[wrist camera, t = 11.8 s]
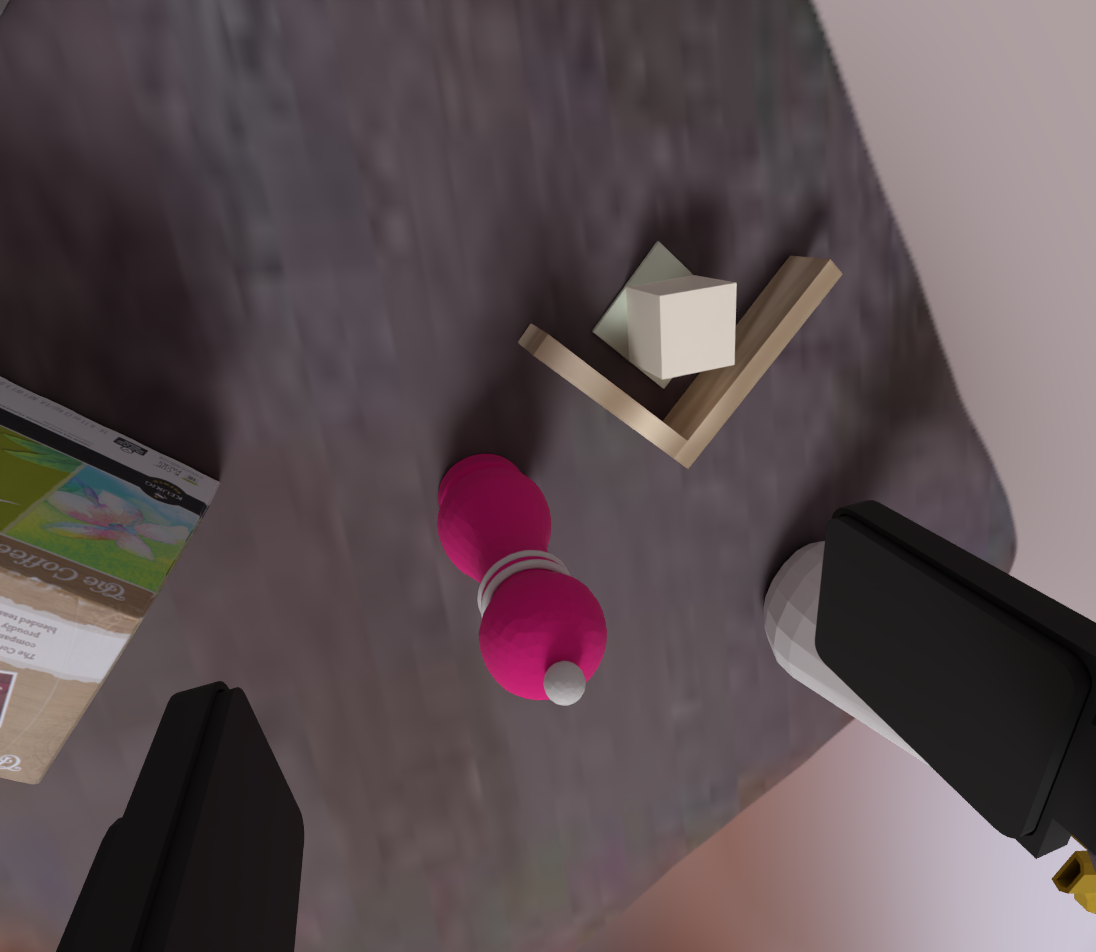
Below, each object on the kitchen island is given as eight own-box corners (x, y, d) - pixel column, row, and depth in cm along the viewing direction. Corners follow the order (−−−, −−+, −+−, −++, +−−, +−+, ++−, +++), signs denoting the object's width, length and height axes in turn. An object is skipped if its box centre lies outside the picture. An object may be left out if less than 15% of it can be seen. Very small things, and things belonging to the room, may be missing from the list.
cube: (625, 286, 38) (659, 296, 34) (694, 275, 39) (736, 282, 35) (629, 362, 40) (662, 380, 36) (694, 349, 41) (734, 365, 37)
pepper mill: (432, 445, 39) (490, 633, 21) (536, 446, 41) (666, 617, 24) (428, 540, 42) (477, 776, 24) (526, 536, 44) (636, 750, 26)
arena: (517, 342, 38) (533, 355, 34) (671, 122, 35) (705, 112, 32) (662, 448, 44) (688, 468, 41) (802, 269, 42) (842, 274, 38)
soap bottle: (773, 505, 50) (1210, 812, 24) (857, 528, 54) (1308, 814, 28) (707, 629, 53) (1027, 1010, 28) (791, 642, 57) (1136, 986, 32)
